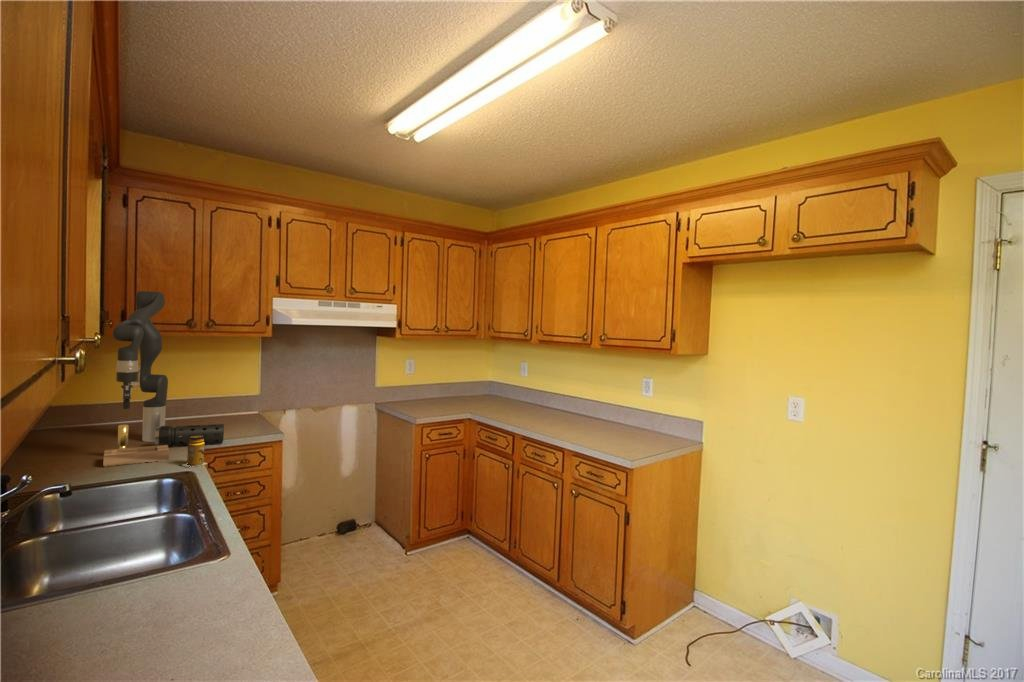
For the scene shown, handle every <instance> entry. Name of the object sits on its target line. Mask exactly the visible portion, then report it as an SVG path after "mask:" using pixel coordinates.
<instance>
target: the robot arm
mask: <svg viewBox="0 0 1024 682" xmlns="http://www.w3.org/2000/svg"><path fill="white" fill-rule="evenodd" d="M165 304H166V297H165V295H164V293H162V292H161V291H153V290H139V291H137V292H136V293H135V306H136V310H135V311H133V312H132V313H131V314H130V315H129V316H128V318H127V319H125V320H123V321H121V322H120V323H118V324H117V325H116V326H114V328H113V330H112V337H113V338H114V339H115V341H118V342H131V343H130V345H127V346H121V347H119V348H118V349H117V362H116V370H115V371H116V375H115V378H116V379H115V380H116V382H118V383H122V385H121V386H120V390H121V397H122V409H123V410H129V409H130V405H131V399H132V397H131V396H133V395H132V394H133V388H134V387H133V385H132V383H135V382H138V380H139V388H140V391H141V392H142V393H145V394H147V393H150V394H151V393H154V394H155V396H153V397H152V398H150V399H149V398H148V399H145V400H144V401H143V403H142V404H143V405H142V434H141V436H142V437H141V441H142V442H151V443H153V442H154V443H155V441H154V438H155V429H156V428H158V427H161V426H166V413H167V412H166V407H167V405H166V403H167V399H168V387H169V379H168V377H167V375H166V374H155V373H154V374H152V367H153V364H154V362H155V361H156V359H157V358H158V357H159V355H160V354H161V352H162V350H163V336H162V334H161V332H160V331H159V329H158V328H157V327H156V326H155V324H153V322H152V321H151V319H152V318H153V317H154V316H156V315H157V314H158V313H160V312H161V310H163V308H164V307H165ZM139 354H140V355H139ZM139 358H140V360H139ZM138 360H139V361H140V364H139V363H138V362H139V361H138ZM139 366H140V367H139ZM139 368H140V369H139Z"/></svg>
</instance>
